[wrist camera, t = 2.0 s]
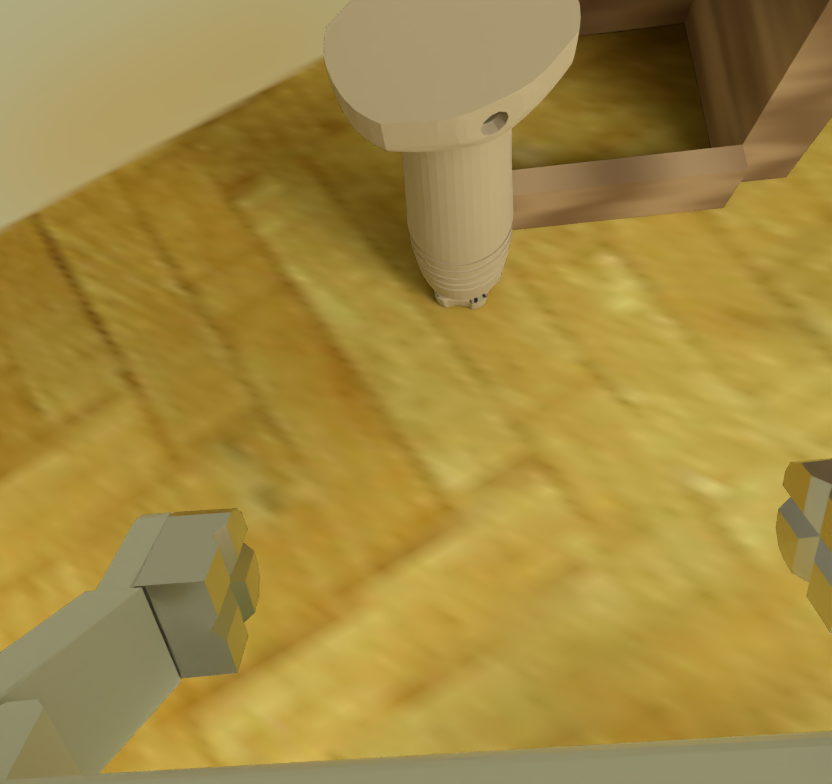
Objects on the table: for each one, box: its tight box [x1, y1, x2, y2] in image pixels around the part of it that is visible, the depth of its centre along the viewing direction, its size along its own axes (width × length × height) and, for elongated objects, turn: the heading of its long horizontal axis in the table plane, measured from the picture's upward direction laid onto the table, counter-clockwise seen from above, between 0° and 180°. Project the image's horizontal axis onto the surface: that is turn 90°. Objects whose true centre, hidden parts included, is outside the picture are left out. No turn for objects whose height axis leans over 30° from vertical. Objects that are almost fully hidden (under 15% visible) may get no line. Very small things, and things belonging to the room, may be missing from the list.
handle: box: [323, 0, 581, 310], centre depth 24 cm, size 5×6×15 cm
